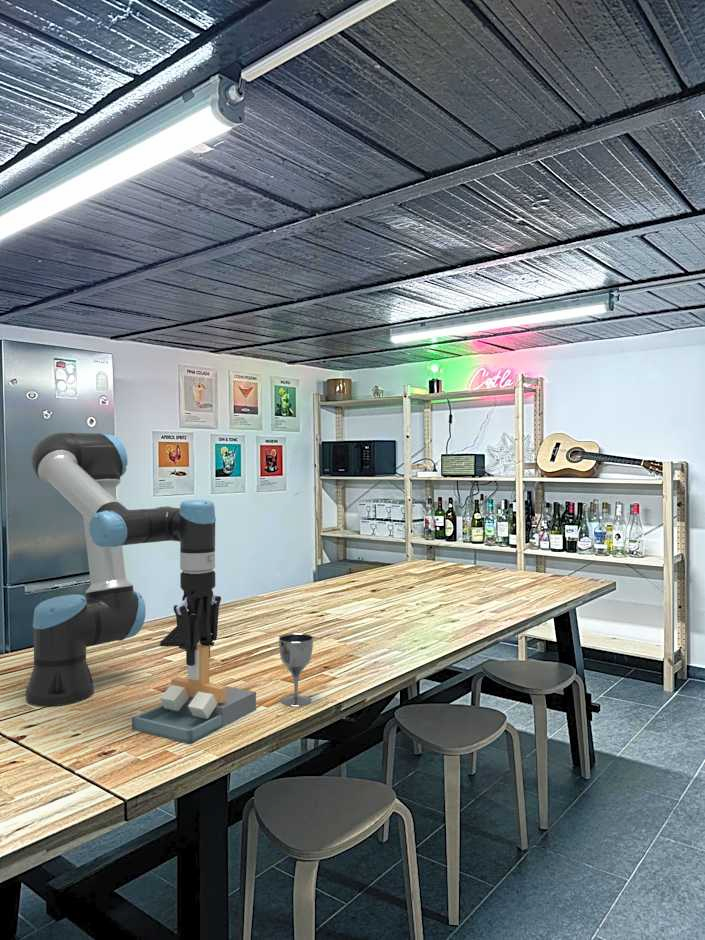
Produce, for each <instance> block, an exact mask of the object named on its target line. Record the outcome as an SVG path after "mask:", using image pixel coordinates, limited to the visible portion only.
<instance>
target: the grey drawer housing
mask: <svg viewBox="0 0 705 940" xmlns="http://www.w3.org/2000/svg"><path fill="white" fill-rule="evenodd" d="M211 683H212V682H211ZM212 684H214V683H212ZM216 684H217V685H219V684H218V683H216ZM226 686H227V685H226ZM193 698H194V697H190V696H189V699H188V700H187V701H186V702H185V704H184V705H183V706H182V707H181V708H180V710H179V711H175V710H171V709H169V712H171V713H175V714H179V715H184V716H188V717H192V718H197V719H201V720H205V721H208V720H210V719H212V718H214V717H216V716H218V715H222V728H224V727H225V726H227V725H229V724H231V723H232V722H234V721H237V720H239V719H241V718H242V717H245V716H246V715H247V714H250V713H252V712H254V711H255V710H257V692H256V691H254V690H253V691H252V690H250V689H249V690H247V689H243V688H239V687H233V686H227V700H226V701H224V702H222V703H219V702H217V703H218V704H217V706H216V707H215V709H214V710H213V712H212V713H211V715H210V716H209V718H208V719H206V718H202V717H197V716H193V715H192V713H191V711H190V709H189V708H188V705H189V704H190V703H191V701H192V700H193Z"/></svg>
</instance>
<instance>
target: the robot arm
mask: <svg viewBox="0 0 705 940" xmlns="http://www.w3.org/2000/svg"><path fill="white" fill-rule="evenodd" d="M30 461H31V468H32V471H33V472H34V475H36V477H37V478H38V479H39V480H40V481H41V482H42V483H43V484H45V485H46V486H50V487H54V489H55V490H56V491H58V492H59V494H60V495H61V496H63V498H65V499H66V500H67V501H68V502H69V504H71V505H72V507H74V508H75V509H76V510H77V511H78V512H79V513H80V514H81V516H82V517H83V525H84V532H85V533H84V535H85V541H86V542H85V543H86V552H87V560H88V569H89V577H90V578H89V579H90V585H89V587H88V588H87V589H86V591H85V595H83V594H73V593H72V594H68V595H66V594H65V595H61V596H60V595H58V596H55V597H51V598H47V599H46V600H43V601H41V602H40V603H38V604H37V605H36V607H35V608H34V612H33V619H32V620H33V621H32V628H33V630H32V631H33V668H32V671H31V675H30V679H29V681H28V686H27V687H26V690H25V700H26V702H27V703H28V704H31V705H34V706H42V707H53V706H55V707H56V706H63V705H70V704H73V703H76V702H77V703H79V702H81V701H83V700H86V699H87V698H90V697H91V696H92V695H94V692H95V682H94V679H93V676H92V674H91V671H90V668H89V666H88V661H87V648H89V647H90V648H91V647H93V646H99V645H103V644H108V643H109V644H110V643H112V642H120V641H124V640H126V639H129V638H132V637H135V636H136V635H137V634H139V633H140V631H141V629H142V627H143V626H144V623H145V620H146V602H145V600H144V598H143V595H142V594H141V593H140V592H138V591H136V590H134V584H133V583H132V582H131V581H129V580H128V579H127V576H126V567H125V560H124V559H125V558H124V552H123V551H124V550H123V546H128V545H129V546H130V545H138V544H145V543H146V544H148V543H160V542H167V541H168V542H171V541H173V542H179V543H180V545H179V546H180V548H179V549H180V550H179V551H180V553H179V555H180V556H179V557H180V558H179V563H180V565H179V569H180V570H181V572H180V575H179V576H180V583H179V584H180V589H181V590H182V591H183V595H182V601H181V602H180V603H179V604H175V605H174V606H173V609H172V610H173V612H174V614H175V619H176V626H177V632H178V644H179V646H178V648H179V649H181V650H185V652H186V653H185V655H186V657H185V662H186V663H185V664H186V665H187V679H192V680H200V679H199V650H197V645H198V643H197V637H198V628H199V639H200V641H199V645H203V646H209V660H210V659H211V646H213V647H214V645H215V641H216V640H217V639H218V629H219V628H218V627H219V625H218V624H219V613H220V611H219V609H220V604H221V601H222V597H221V596H220V595H219V596H218V595H214V592H213V589H214V588H215V587H216V572H215V571H214V570H215V568H216V521H217V518H216V512H215V511H216V510H215V508H216V507H215V503H214V502H213V501H212V500H207V499H206V500H205V499H197V500H196V499H193V500H192V499H191V500H189V499H188V500H183V501H181V502H180V504H179V505H180V506H179V507H172V506H157V507H153V508H145V509H143V508H142V509H141V508H140V509H139V508H138V509H127V508H126V506H125V505H123V504H122V503H121V502H120V501H119V500H117V490H116V489H117V487H118V486H119V485H120V483H121V477H123V476H124V475H125V473H126V472H127V469H128V468H127V466H128V462H129V461H128V455H127V450H126V448H125V445H124V444H123V442H122V441H121V439H119V438H118V437H117V436H115V435H113V434H105V433H101V432H97V433H92V432H91V433H83V432H79V433H77V432H57V433H52V434H50V435H47V436H45V437H44V438H43V439H41V440H40V441H39V442H38V443H37V444H36V446H35V447H34V448H33V451H32V453H31V460H30ZM191 644H192V645H191Z"/></svg>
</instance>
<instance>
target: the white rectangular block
mask: <svg viewBox="0 0 705 940" xmlns="http://www.w3.org/2000/svg"><path fill="white" fill-rule="evenodd" d="M217 704H218V703H217V701H216V699H215V697H214V695H213V694H209V693H204V692H199V691H198V693H197V694H196V695H195V697H194V698H193V700H192V701H191V703H190V704H189V705H188V708H189V709H190V711H191V713H192V715H193V716H197V717H202V718H206V719H208V718H209V716H210V715H211V713H212V712H213V710H214V709H215V707H216V706H217Z"/></svg>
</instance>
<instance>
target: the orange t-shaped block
mask: <svg viewBox="0 0 705 940" xmlns="http://www.w3.org/2000/svg"><path fill="white" fill-rule="evenodd" d="M197 650H199V679H200V680H192V679H188V678H186V677H180V676H176V677H174V678H171V679H170V681H171V682H170V685H175V686H180V687H185V689H186V691H187V693H188V696H190V697H195V695H196V694H197V693H198V691H199V692H204V693H209V694H213V695H214V697H215V699H216V701H217V702H219V703H222V702H224V701H226V700H227V685H223V684H218V683H213V684H212V682H210V659H209V646H203V645H202V644H197ZM217 684H218V685H217Z"/></svg>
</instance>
